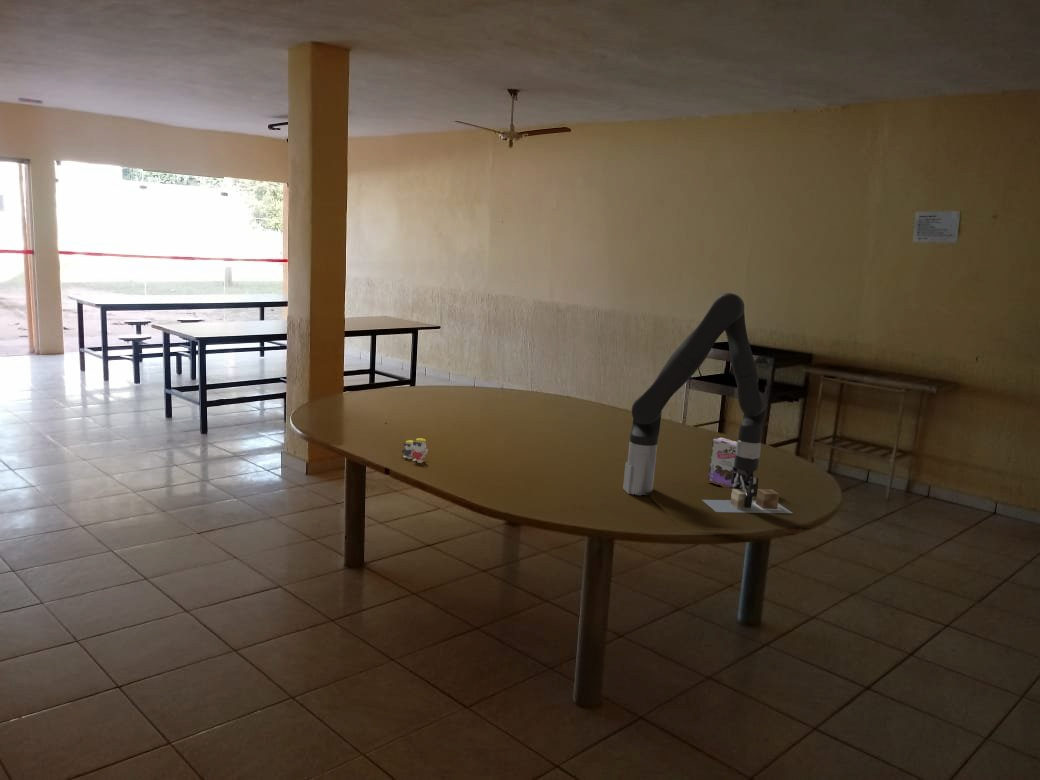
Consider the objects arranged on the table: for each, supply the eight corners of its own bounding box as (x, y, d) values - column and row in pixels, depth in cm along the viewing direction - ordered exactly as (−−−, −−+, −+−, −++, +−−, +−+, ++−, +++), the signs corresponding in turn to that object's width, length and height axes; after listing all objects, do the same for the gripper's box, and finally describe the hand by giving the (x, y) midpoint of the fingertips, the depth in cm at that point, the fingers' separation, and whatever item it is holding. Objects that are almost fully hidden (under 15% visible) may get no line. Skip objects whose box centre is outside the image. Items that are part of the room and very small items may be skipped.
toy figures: (400, 456, 290) (401, 434, 288) (409, 454, 293) (410, 432, 291) (420, 464, 281) (421, 441, 280) (430, 462, 285) (431, 440, 283)
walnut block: (762, 508, 254) (764, 493, 254) (755, 503, 259) (757, 488, 258) (777, 508, 255) (779, 494, 254) (769, 503, 260) (771, 489, 259)
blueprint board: (715, 515, 248) (716, 511, 248) (701, 503, 260) (701, 499, 259) (792, 516, 253) (792, 512, 252) (774, 504, 264) (775, 500, 264)
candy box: (706, 483, 284) (712, 438, 281) (715, 480, 288) (721, 436, 285) (741, 493, 274) (747, 447, 271) (749, 490, 278) (755, 445, 276)
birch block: (736, 508, 253) (738, 493, 252) (730, 503, 258) (732, 488, 257) (751, 508, 254) (753, 494, 253) (744, 503, 258) (746, 489, 258)
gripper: (727, 448, 259) (721, 496, 262) (746, 460, 245) (740, 510, 248) (748, 448, 260) (742, 496, 263) (769, 460, 246) (762, 510, 249)
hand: (741, 503), depth 255 cm, fingers open, 8 cm apart
